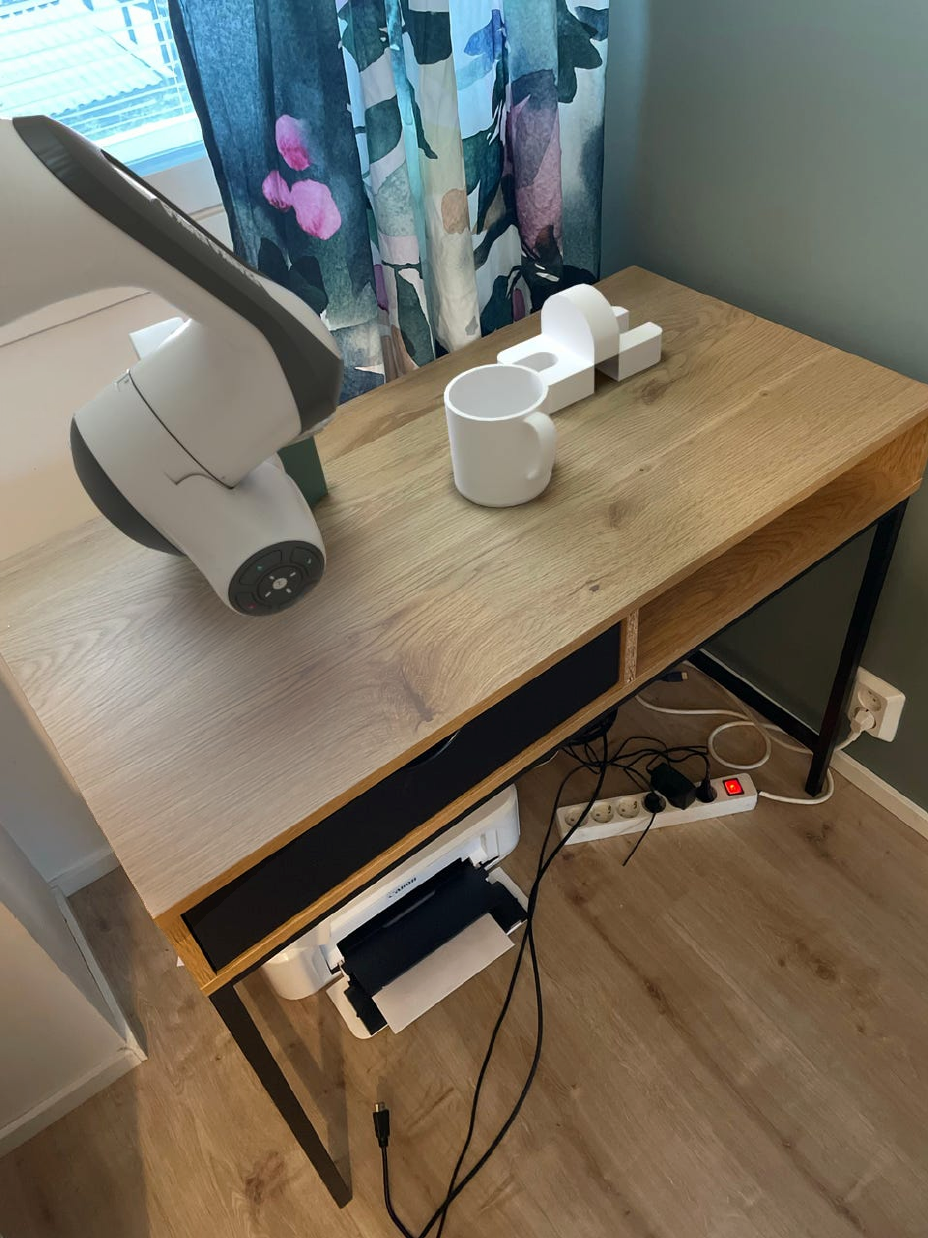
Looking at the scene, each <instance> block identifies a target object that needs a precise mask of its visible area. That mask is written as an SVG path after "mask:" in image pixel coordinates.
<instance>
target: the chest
mask: <svg viewBox="0 0 928 1238" xmlns="http://www.w3.org/2000/svg"><path fill="white" fill-rule="evenodd" d="M314 436H315V435H314ZM314 436H311V437H309V438H307V439H305V440H303V441H300V442H297V443H294V444H291V445H288V446H286V447H283V448H281V449H280V450H278V451H277V454H278V456H279V457H280V459H281V461H282V463H283V466H284V469H285V473H286V474H288V475H289V476H290V477H291V478H292V480H293V481H294V482H295V484H296V485H297V486H298V488H299V490H300V491H301V493H302V495H303V497H304V498H305V500H306V502H307V504H308V506H309V508H310V510H311V511H312V509H313V508H314V507H315V506H316V505H317V503H318V502H319V501H321V499H323V497H324V496H325V495H327V493H328V486H327V482H326V479H325V474H324V471H323V467H322V463H321V459H320V455H319V452H318V448H317V444H316V441H315V437H314Z"/></svg>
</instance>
